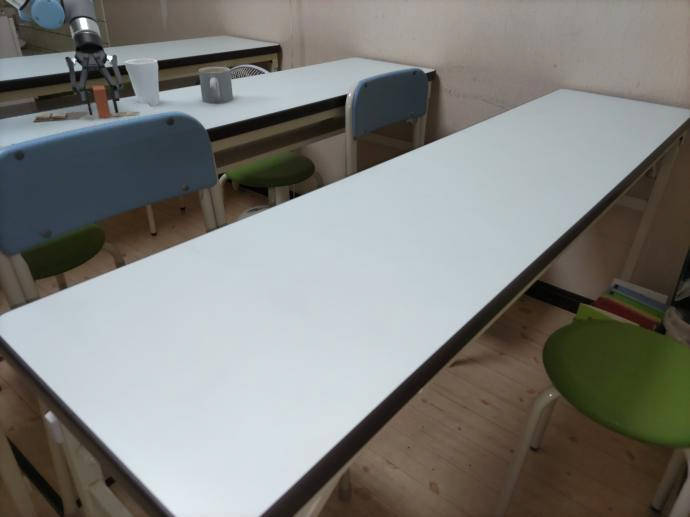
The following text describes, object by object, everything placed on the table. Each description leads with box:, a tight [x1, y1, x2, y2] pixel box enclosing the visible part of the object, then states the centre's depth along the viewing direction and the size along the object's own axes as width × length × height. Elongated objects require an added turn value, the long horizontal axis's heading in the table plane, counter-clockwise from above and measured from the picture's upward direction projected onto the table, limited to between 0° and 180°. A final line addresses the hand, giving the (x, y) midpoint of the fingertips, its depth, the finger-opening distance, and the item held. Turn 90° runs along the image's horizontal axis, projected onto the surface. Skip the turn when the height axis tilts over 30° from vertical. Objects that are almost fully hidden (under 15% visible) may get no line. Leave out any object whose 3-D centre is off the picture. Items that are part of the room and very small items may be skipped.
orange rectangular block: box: [91, 84, 112, 120], centre depth 144 cm, size 3×5×8 cm, turn 26°
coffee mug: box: [198, 66, 234, 104], centre depth 165 cm, size 13×10×10 cm
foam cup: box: [124, 58, 160, 107], centre depth 159 cm, size 10×9×13 cm
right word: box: [96, 111, 140, 118], centre depth 147 cm, size 12×8×2 cm, turn 106°
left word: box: [33, 111, 89, 123], centre depth 145 cm, size 13×8×2 cm, turn 106°
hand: (103, 111), depth 142 cm, fingers open, 6 cm apart
